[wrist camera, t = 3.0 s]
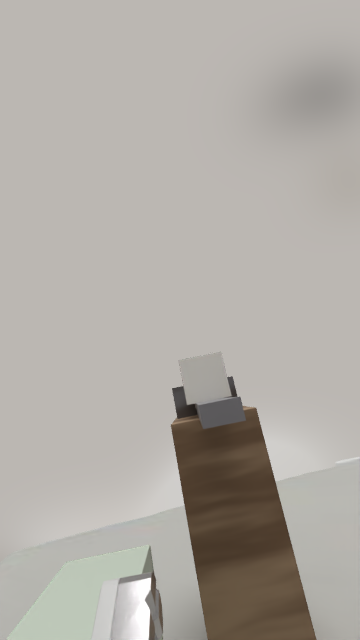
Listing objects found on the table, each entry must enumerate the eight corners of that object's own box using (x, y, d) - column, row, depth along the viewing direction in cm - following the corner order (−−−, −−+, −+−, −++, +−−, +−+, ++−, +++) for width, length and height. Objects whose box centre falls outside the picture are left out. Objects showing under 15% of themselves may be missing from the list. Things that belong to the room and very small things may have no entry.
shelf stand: (341, 737, 22) (246, 369, 30) (229, 762, 21) (164, 385, 30) (289, 619, 33) (230, 377, 41) (215, 635, 33) (171, 389, 41)
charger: (260, 417, 19) (236, 326, 21) (189, 432, 19) (171, 339, 21) (228, 409, 36) (216, 359, 37) (190, 416, 35) (180, 366, 37)
